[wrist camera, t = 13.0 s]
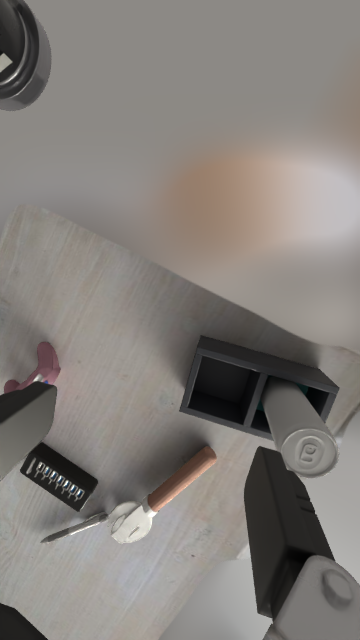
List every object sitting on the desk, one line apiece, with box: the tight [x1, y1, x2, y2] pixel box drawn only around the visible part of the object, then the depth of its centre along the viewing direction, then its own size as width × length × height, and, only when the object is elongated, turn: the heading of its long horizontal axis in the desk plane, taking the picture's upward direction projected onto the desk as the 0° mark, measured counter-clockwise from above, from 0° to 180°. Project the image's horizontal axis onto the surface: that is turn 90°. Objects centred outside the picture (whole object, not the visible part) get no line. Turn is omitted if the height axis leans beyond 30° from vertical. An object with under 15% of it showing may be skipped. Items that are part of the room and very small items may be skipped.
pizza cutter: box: [107, 447, 217, 544], centre depth 38 cm, size 20×6×3 cm, turn 136°
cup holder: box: [179, 335, 339, 441], centre depth 32 cm, size 8×15×6 cm, turn 76°
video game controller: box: [4, 342, 61, 394], centre depth 37 cm, size 10×5×7 cm, turn 136°
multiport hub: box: [20, 443, 98, 512], centre depth 40 cm, size 4×11×2 cm, turn 58°
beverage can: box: [260, 376, 339, 478], centre depth 28 cm, size 5×5×12 cm
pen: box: [40, 512, 110, 544], centre depth 42 cm, size 1×14×1 cm, turn 120°
